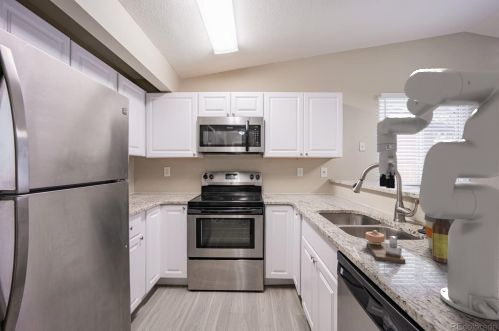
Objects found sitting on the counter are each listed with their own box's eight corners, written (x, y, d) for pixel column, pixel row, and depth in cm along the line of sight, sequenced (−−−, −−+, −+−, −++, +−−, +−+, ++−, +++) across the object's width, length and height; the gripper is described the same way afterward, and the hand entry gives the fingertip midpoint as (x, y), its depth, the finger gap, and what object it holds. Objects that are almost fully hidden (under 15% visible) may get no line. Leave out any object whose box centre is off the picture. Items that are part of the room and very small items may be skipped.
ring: (386, 243, 96) (386, 237, 96) (367, 241, 98) (367, 235, 98) (381, 238, 102) (381, 232, 102) (364, 236, 104) (364, 231, 104)
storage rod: (402, 258, 85) (403, 239, 85) (387, 256, 87) (387, 238, 87) (398, 253, 90) (398, 235, 90) (384, 251, 91) (384, 234, 91)
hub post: (382, 247, 97) (383, 232, 97) (369, 245, 98) (369, 231, 98) (379, 243, 102) (380, 229, 102) (367, 242, 103) (367, 228, 103)
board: (405, 263, 84) (405, 259, 84) (376, 260, 87) (376, 256, 87) (390, 246, 101) (390, 243, 101) (366, 244, 104) (367, 241, 104)
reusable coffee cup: (446, 245, 104) (447, 212, 104) (470, 256, 92) (471, 218, 92) (417, 244, 105) (417, 211, 105) (437, 254, 93) (437, 217, 93)
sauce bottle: (457, 265, 83) (458, 210, 83) (438, 263, 84) (438, 209, 84) (446, 258, 90) (446, 207, 89) (428, 256, 91) (428, 206, 91)
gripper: (404, 146, 92) (404, 189, 91) (390, 150, 108) (390, 186, 108) (383, 146, 94) (383, 188, 93) (372, 150, 110) (372, 186, 110)
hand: (386, 187), depth 101 cm, fingers open, 9 cm apart
